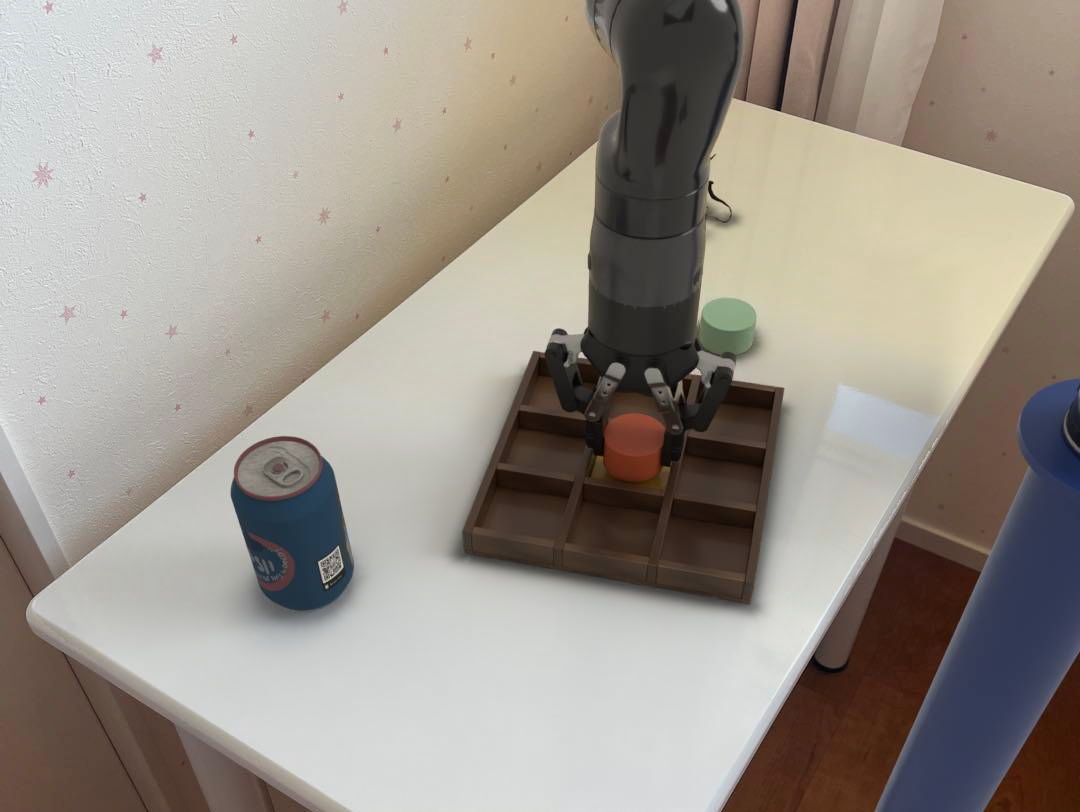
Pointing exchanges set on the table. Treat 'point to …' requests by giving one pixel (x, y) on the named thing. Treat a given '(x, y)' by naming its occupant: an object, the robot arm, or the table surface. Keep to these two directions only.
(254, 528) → the soda can
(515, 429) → the grid
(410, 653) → the table surface
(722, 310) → the sage token
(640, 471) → the cylinder
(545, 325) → the table surface
